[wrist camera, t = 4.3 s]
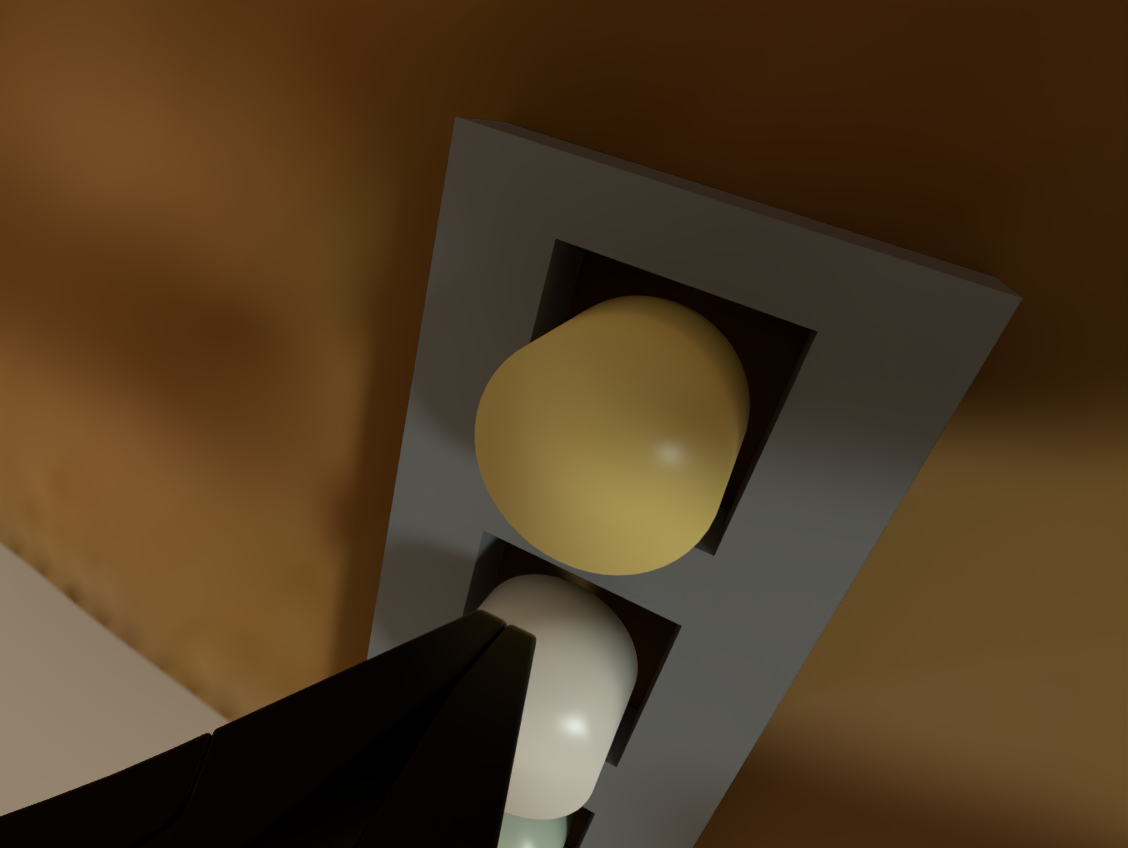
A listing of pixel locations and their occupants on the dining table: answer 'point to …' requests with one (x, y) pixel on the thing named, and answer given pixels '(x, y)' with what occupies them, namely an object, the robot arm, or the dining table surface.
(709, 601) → the button panel
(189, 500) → the dining table surface
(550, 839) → the sage button
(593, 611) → the cream button
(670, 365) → the mustard button
